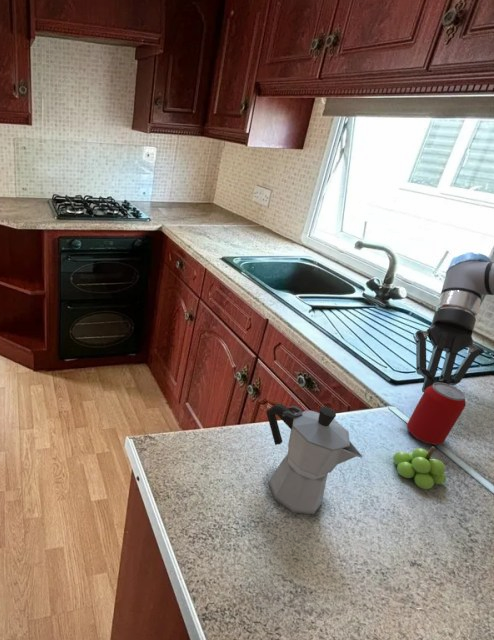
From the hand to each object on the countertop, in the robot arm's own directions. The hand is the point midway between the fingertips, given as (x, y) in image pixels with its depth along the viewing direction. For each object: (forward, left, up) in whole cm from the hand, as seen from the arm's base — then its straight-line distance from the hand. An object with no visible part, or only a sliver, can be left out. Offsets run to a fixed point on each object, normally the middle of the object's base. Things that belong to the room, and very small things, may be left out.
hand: (428, 408), depth 88 cm
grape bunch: (+2, +19, -4) cm, 20 cm away
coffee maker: (+22, +37, -4) cm, 43 cm away
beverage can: (0, +5, -4) cm, 6 cm away
